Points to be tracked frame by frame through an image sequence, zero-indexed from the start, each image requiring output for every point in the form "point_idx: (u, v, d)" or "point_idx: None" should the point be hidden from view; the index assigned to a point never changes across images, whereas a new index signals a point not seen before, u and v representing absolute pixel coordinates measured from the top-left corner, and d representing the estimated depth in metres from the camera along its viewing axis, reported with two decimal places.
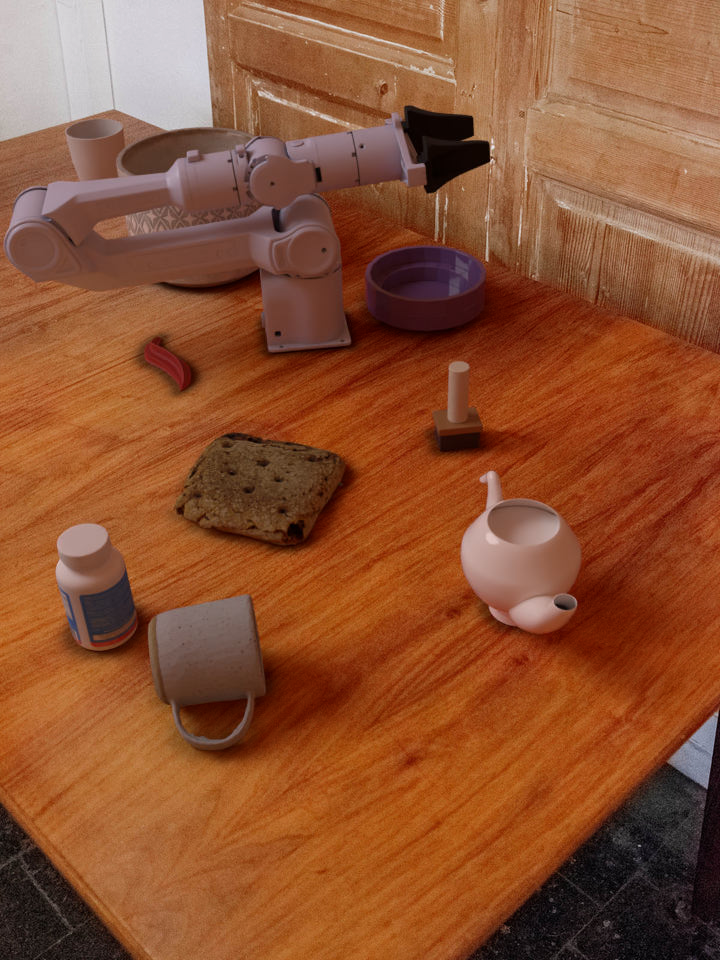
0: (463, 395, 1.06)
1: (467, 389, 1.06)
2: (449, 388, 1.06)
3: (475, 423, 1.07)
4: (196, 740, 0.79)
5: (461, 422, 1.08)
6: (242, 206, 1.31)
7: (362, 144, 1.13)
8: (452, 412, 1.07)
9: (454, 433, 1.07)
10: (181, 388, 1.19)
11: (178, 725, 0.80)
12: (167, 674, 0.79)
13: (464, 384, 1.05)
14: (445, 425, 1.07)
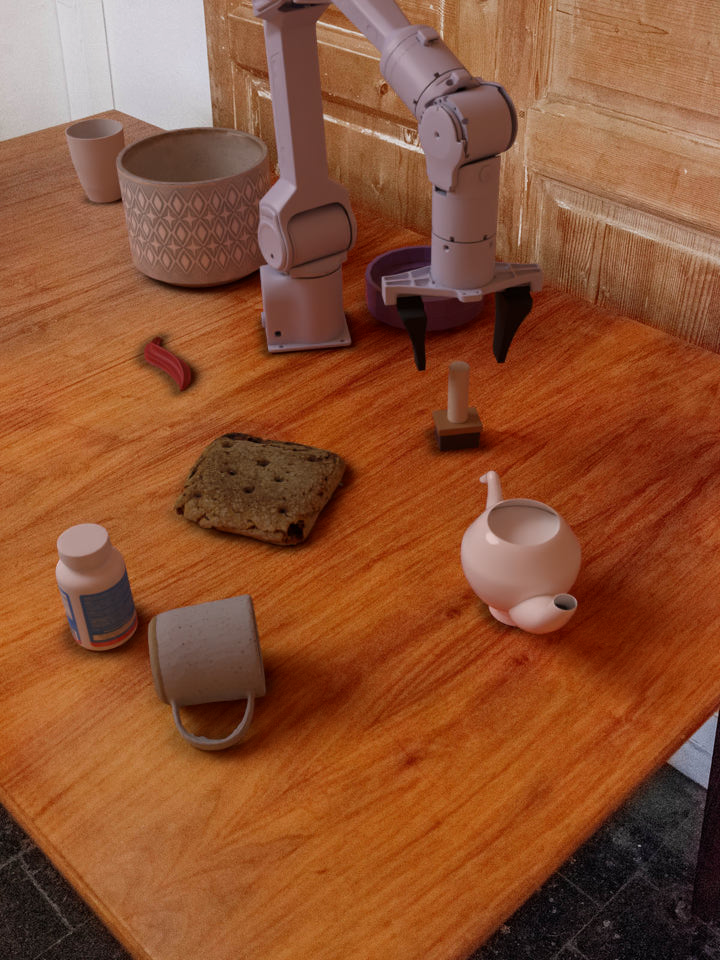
0: (463, 395, 1.06)
1: (467, 389, 1.06)
2: (449, 388, 1.06)
3: (475, 423, 1.07)
4: (196, 740, 0.79)
5: (461, 422, 1.08)
6: (242, 206, 1.31)
7: (448, 249, 0.95)
8: (452, 412, 1.07)
9: (454, 433, 1.07)
10: (181, 388, 1.19)
11: (178, 725, 0.80)
12: (167, 674, 0.79)
13: (464, 384, 1.05)
14: (445, 425, 1.07)
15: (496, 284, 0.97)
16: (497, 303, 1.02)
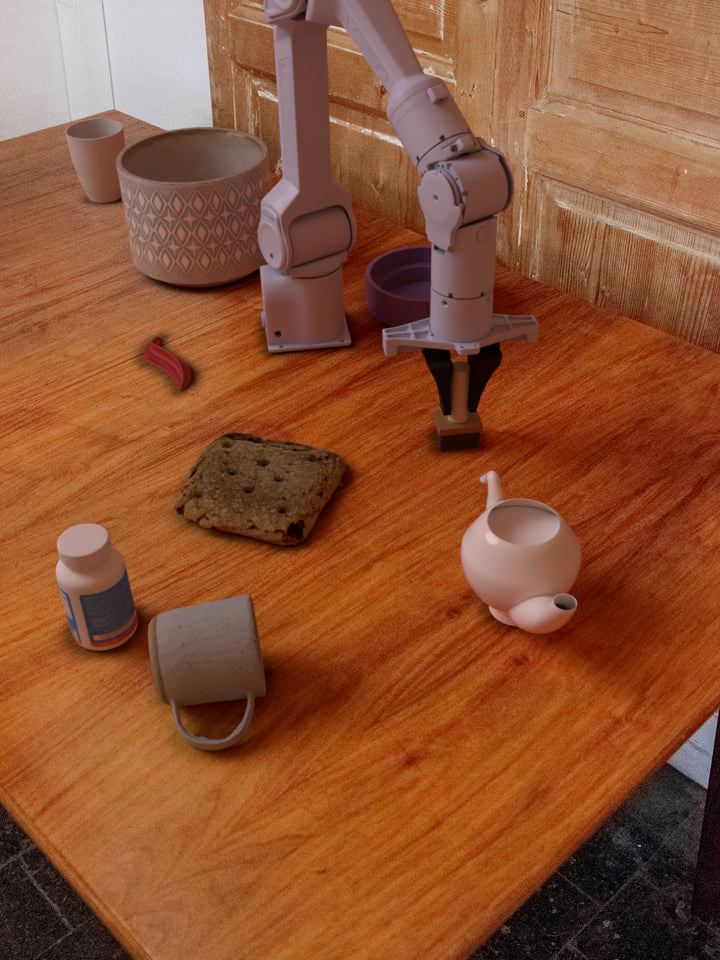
0: (463, 395, 1.06)
1: (467, 389, 1.06)
2: None
3: (475, 423, 1.07)
4: (196, 740, 0.79)
5: (461, 422, 1.08)
6: (242, 206, 1.31)
7: (447, 305, 0.98)
8: (452, 412, 1.07)
9: (454, 433, 1.07)
10: (181, 388, 1.19)
11: (178, 725, 0.80)
12: (167, 674, 0.79)
13: (465, 384, 1.05)
14: (445, 425, 1.07)
15: (493, 337, 1.00)
16: (468, 355, 1.05)
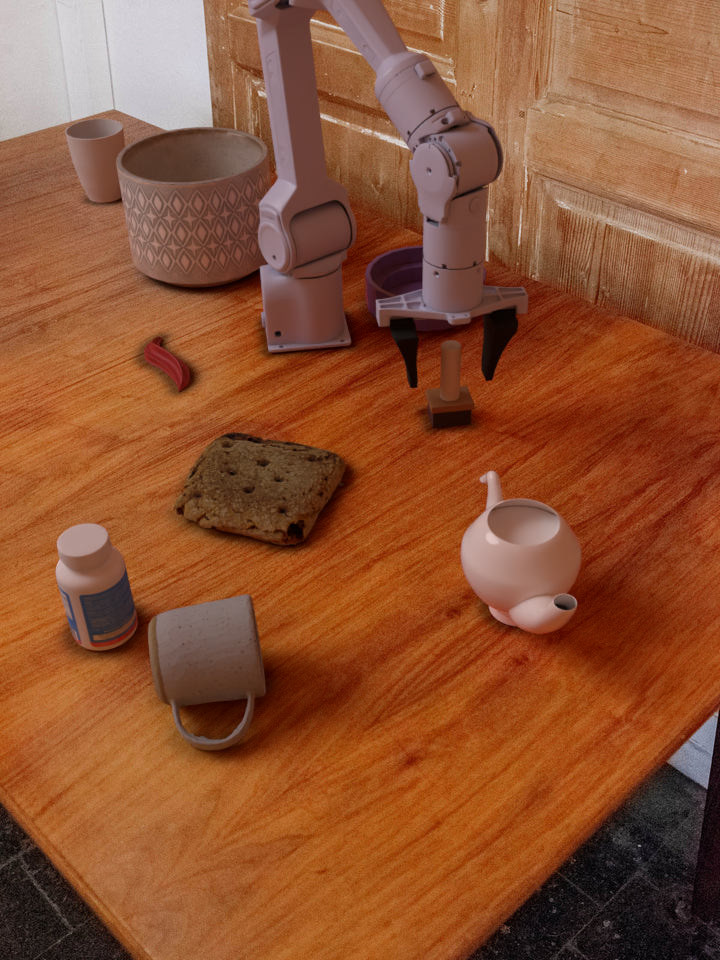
0: (455, 373, 1.09)
1: (459, 367, 1.09)
2: (441, 367, 1.09)
3: (467, 401, 1.11)
4: (196, 740, 0.79)
5: (453, 400, 1.11)
6: (242, 206, 1.31)
7: (438, 275, 1.01)
8: (444, 390, 1.10)
9: (446, 411, 1.10)
10: (179, 388, 1.19)
11: (178, 725, 0.80)
12: (167, 674, 0.79)
13: (456, 362, 1.08)
14: (437, 403, 1.10)
15: (483, 307, 1.03)
16: (485, 324, 1.08)
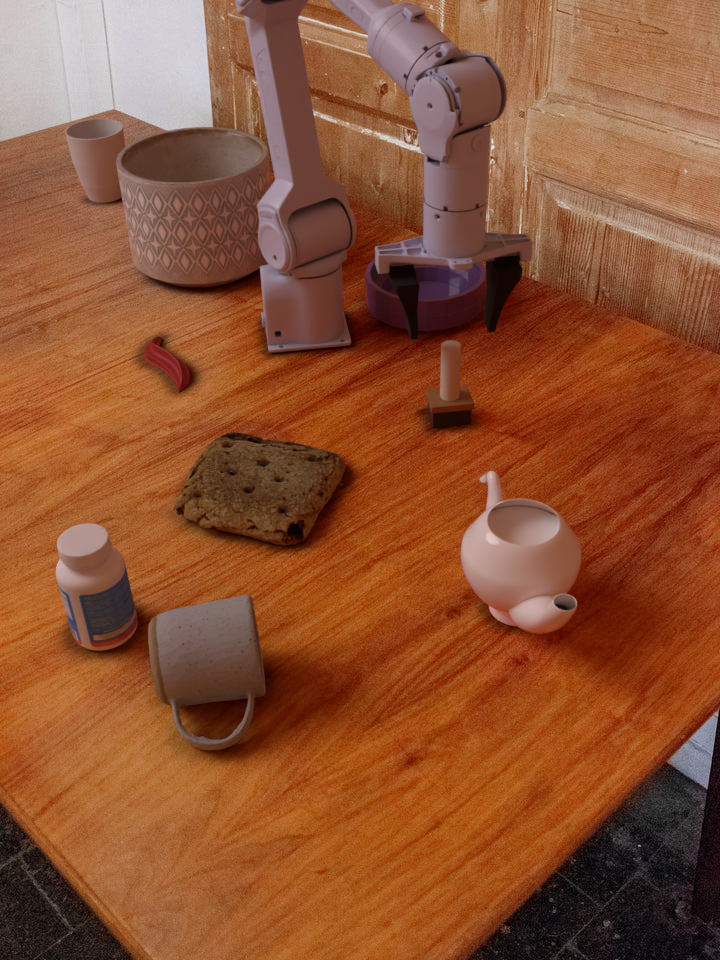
0: (455, 373, 1.09)
1: (459, 367, 1.09)
2: (441, 367, 1.09)
3: (467, 401, 1.11)
4: (196, 740, 0.79)
5: (453, 400, 1.11)
6: (242, 206, 1.31)
7: (440, 218, 0.97)
8: (444, 390, 1.10)
9: (446, 410, 1.10)
10: (179, 389, 1.19)
11: (178, 725, 0.80)
12: (167, 674, 0.79)
13: (456, 362, 1.08)
14: (437, 403, 1.10)
15: (486, 253, 1.00)
16: (488, 273, 1.05)
